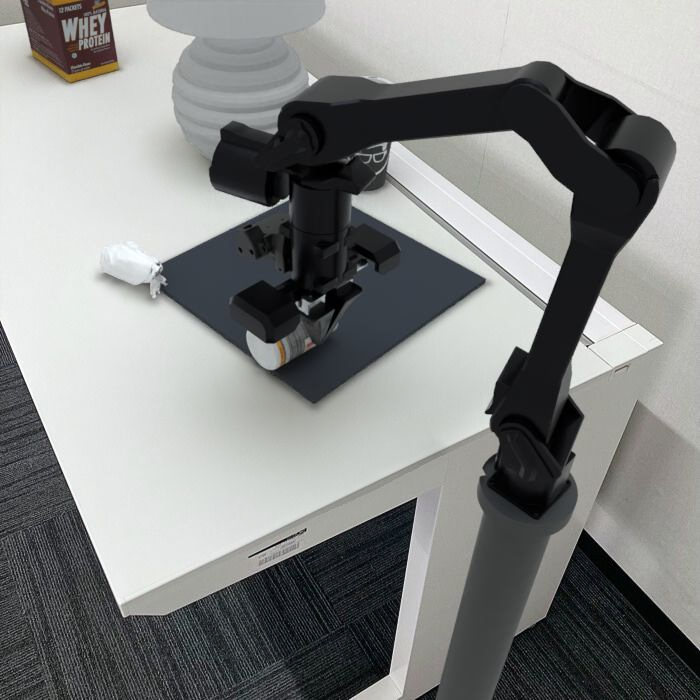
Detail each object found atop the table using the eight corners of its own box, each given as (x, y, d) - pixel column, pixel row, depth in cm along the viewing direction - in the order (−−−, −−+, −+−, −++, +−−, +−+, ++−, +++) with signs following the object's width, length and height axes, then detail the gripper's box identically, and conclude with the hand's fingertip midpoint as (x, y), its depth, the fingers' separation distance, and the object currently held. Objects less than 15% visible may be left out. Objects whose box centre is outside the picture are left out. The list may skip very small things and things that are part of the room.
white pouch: (179, 279, 104) (117, 245, 105) (171, 251, 98) (105, 216, 99) (157, 307, 102) (94, 272, 103) (148, 281, 96) (80, 244, 97)
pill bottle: (271, 381, 90) (336, 344, 95) (278, 350, 86) (346, 313, 91) (241, 347, 92) (307, 313, 97) (246, 316, 88) (314, 281, 93)
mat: (485, 282, 106) (486, 278, 105) (314, 403, 88) (314, 400, 87) (316, 189, 121) (316, 186, 121) (142, 276, 104) (141, 273, 103)
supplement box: (70, 83, 145) (51, -5, 134) (32, 56, 153) (12, -30, 143) (120, 70, 150) (107, -17, 140) (81, 44, 159) (65, -40, 148)
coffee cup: (405, 175, 125) (414, 84, 115) (376, 202, 119) (382, 108, 109) (353, 158, 129) (357, 68, 119) (322, 183, 122) (323, 90, 112)
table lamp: (249, 212, 116) (233, -93, 89) (132, 155, 127) (86, -132, 100) (354, 149, 131) (367, -128, 104) (241, 103, 142) (226, -158, 115)
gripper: (329, 153, 83) (326, 273, 93) (185, 220, 72) (200, 347, 83) (410, 194, 77) (397, 317, 88) (267, 274, 67) (272, 402, 77)
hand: (317, 343), depth 84 cm, fingers closed
